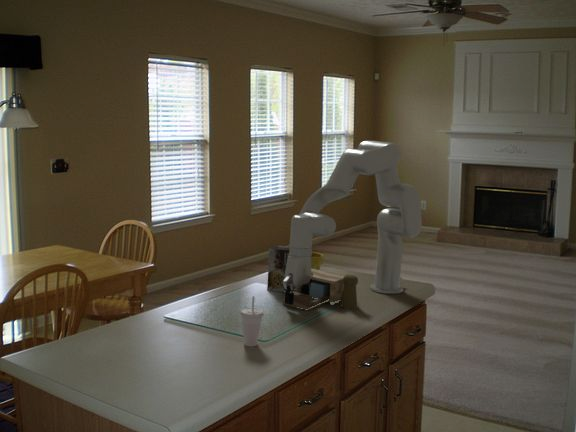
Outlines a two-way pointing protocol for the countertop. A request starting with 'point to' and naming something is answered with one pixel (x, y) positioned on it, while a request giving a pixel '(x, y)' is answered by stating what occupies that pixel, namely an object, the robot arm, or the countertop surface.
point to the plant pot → (316, 260)
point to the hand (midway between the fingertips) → (296, 301)
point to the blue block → (319, 289)
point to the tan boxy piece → (328, 277)
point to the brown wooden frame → (305, 300)
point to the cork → (349, 292)
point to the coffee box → (277, 267)
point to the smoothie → (251, 324)
